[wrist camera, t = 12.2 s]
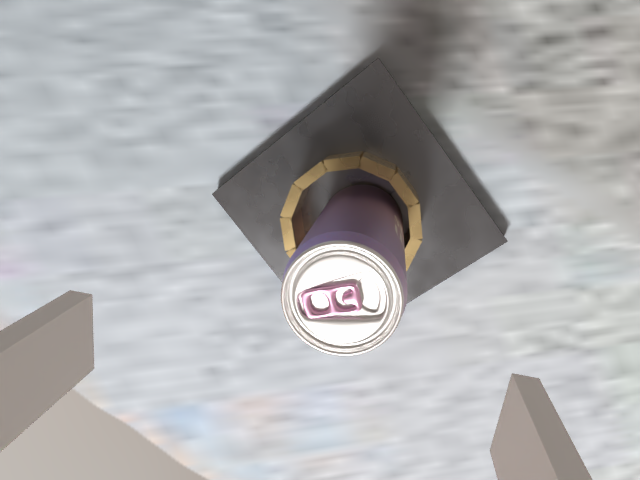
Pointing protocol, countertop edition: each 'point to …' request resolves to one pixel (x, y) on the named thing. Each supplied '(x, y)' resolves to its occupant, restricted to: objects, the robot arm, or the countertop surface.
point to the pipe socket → (363, 182)
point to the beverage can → (348, 274)
